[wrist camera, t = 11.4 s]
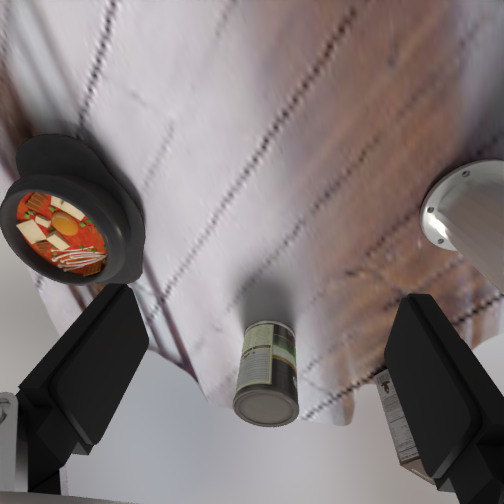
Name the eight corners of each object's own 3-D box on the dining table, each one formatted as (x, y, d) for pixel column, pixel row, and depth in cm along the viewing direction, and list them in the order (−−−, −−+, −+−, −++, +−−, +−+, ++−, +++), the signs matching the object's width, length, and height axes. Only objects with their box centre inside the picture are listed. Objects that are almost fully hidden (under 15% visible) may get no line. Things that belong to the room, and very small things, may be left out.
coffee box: (426, 382, 57) (471, 476, 43) (400, 394, 60) (434, 486, 46) (397, 361, 55) (435, 455, 41) (371, 376, 58) (398, 467, 44)
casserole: (170, 276, 49) (151, 309, 42) (76, 281, 51) (43, 313, 44) (116, 122, 36) (74, 132, 29) (-5, 140, 39) (-70, 153, 32)
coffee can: (300, 324, 52) (306, 397, 40) (289, 358, 57) (291, 432, 45) (246, 315, 52) (235, 385, 40) (240, 350, 57) (229, 421, 45)
